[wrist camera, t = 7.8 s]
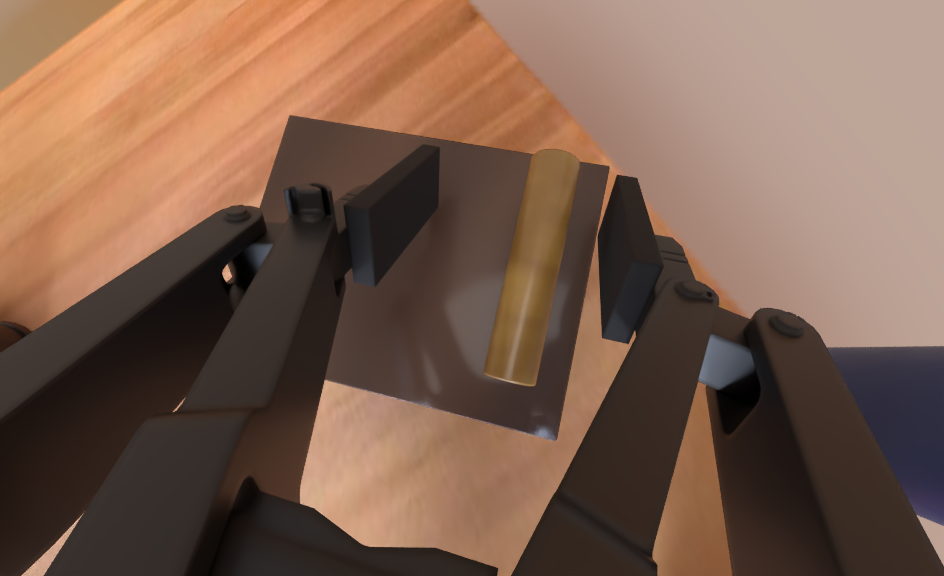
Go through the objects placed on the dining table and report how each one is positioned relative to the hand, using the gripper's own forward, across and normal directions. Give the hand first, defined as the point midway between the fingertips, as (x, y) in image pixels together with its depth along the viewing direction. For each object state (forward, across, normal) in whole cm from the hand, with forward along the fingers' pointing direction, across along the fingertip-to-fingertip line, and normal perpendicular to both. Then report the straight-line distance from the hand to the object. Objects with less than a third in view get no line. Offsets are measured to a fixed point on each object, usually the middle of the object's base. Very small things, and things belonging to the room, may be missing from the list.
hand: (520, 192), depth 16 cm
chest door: (-1, -5, -4) cm, 6 cm away
